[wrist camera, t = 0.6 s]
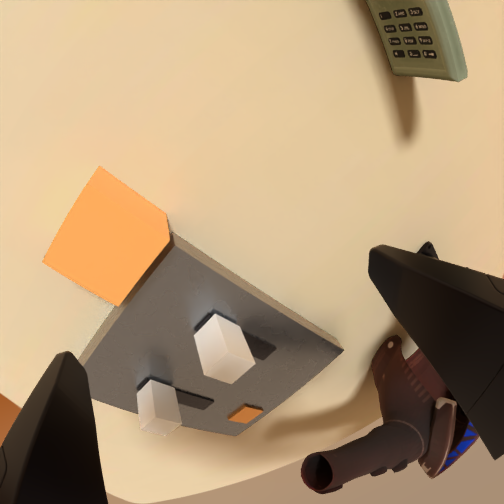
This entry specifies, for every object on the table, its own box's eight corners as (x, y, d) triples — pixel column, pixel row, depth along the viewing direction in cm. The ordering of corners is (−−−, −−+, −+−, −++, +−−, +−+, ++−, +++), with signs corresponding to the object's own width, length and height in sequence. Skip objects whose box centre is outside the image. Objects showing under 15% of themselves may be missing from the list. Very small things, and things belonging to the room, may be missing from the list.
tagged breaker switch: (174, 387, 25) (182, 423, 22) (160, 401, 25) (165, 436, 22) (150, 379, 24) (155, 417, 20) (136, 393, 24) (140, 430, 21)
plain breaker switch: (239, 326, 24) (255, 363, 20) (218, 346, 24) (231, 384, 21) (215, 313, 22) (228, 352, 19) (193, 335, 23) (204, 375, 19)
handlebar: (474, 313, 47) (537, 375, 30) (443, 361, 52) (496, 423, 35) (282, 336, 29) (386, 514, 13) (250, 408, 35) (311, 546, 18)
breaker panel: (335, 338, 32) (345, 352, 30) (231, 423, 35) (236, 437, 34) (172, 232, 20) (175, 247, 19) (69, 372, 24) (67, 391, 22)
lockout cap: (166, 213, 20) (170, 240, 16) (121, 272, 21) (118, 306, 17) (99, 165, 17) (87, 183, 13) (57, 232, 18) (42, 261, 14)
